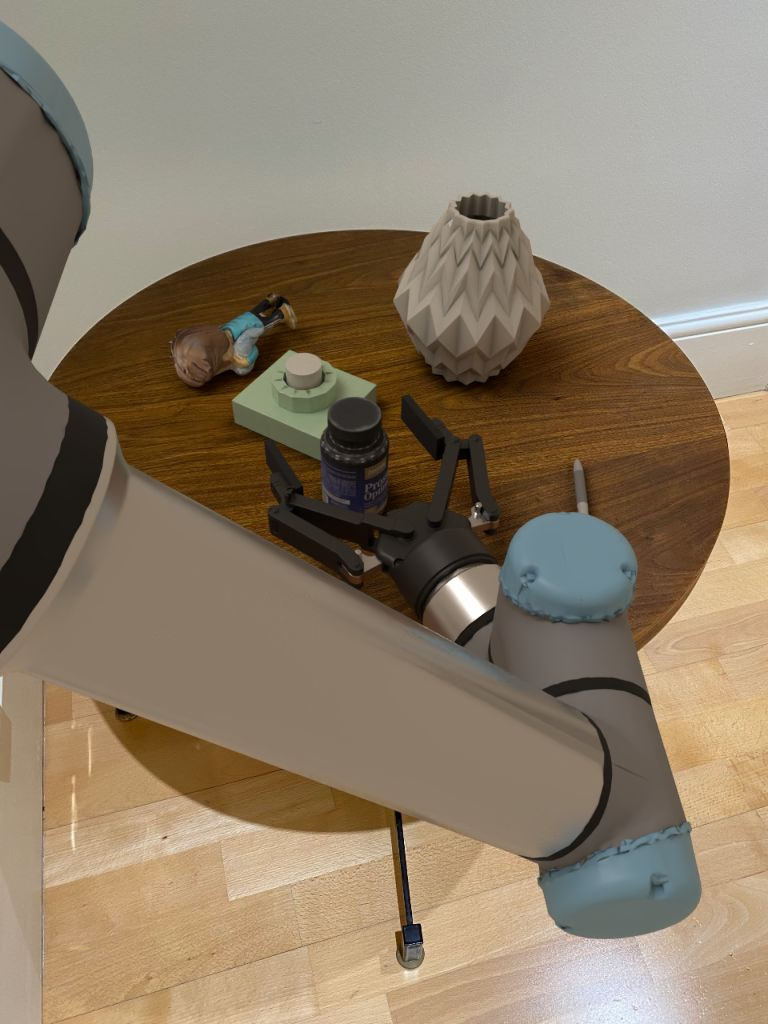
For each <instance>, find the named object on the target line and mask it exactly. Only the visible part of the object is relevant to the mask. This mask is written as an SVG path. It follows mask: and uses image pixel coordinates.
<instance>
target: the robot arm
mask: <svg viewBox="0 0 768 1024" xmlns="http://www.w3.org/2000/svg"><path fill="white" fill-rule="evenodd" d="M92 150H93V149H92V145H91V142H90V138H89V133H88V130H87V127H86V123H85V122H84V119H83V117H82V114H81V111H80V109H79V108H78V106H77V104H76V101H75V99H74V98H73V96H72V94H71V92H70V91H69V89H68V88H67V87H66V85H65V83H64V82H63V80H62V79H61V78H60V76H59V75H58V73H56V71H55V70H54V68H53V67H52V66H51V65H50V64H49V63H48V61H47V60H46V59H45V58H44V57H43V56H42V55H41V54H40V53H39V52H38V51H37V50H36V48H35V47H33V46H32V45H31V43H29V42H28V41H27V40H26V39H25V38H24V37H23V36H21V35H20V34H19V33H18V32H17V31H15V30H14V29H13V28H11V27H10V26H9V25H7V24H6V23H5V22H3V21H1V20H0V678H1V677H4V676H6V675H8V674H14V673H21V674H24V675H26V676H30V677H32V678H34V679H38V680H41V681H43V682H46V683H48V684H51V685H53V686H56V687H59V688H63V689H65V690H67V691H70V692H73V693H75V694H79V695H81V696H83V697H86V698H89V699H92V700H94V701H96V702H100V703H103V704H105V705H108V706H111V707H113V708H116V709H119V710H121V711H124V712H127V713H130V714H132V715H135V716H138V717H141V718H143V719H146V720H149V721H152V722H154V723H157V724H159V725H163V726H165V727H168V728H171V729H173V730H175V731H179V732H181V733H184V734H187V735H190V736H193V737H195V738H197V739H201V740H203V741H205V742H208V743H211V744H214V745H216V746H219V747H222V748H225V749H227V750H230V751H233V752H236V753H237V754H241V755H243V756H246V757H249V758H252V759H255V760H257V761H260V762H263V763H266V764H268V765H271V766H274V767H276V768H279V769H282V770H284V771H287V772H290V773H293V774H295V775H298V776H300V777H304V778H306V779H308V780H312V781H315V782H318V783H320V784H323V785H325V786H327V787H331V788H333V789H336V790H338V791H342V792H344V793H347V794H349V795H352V796H355V797H358V798H360V799H363V800H366V801H369V802H371V803H374V804H377V805H380V806H382V807H385V808H388V809H391V810H393V811H395V812H398V813H400V814H404V815H407V816H410V817H412V818H415V819H418V820H420V821H423V822H425V823H427V824H431V825H434V826H437V827H439V828H442V829H444V830H448V831H450V832H453V833H455V834H458V835H461V836H463V837H467V838H469V839H473V840H474V841H477V842H479V843H482V844H486V845H488V846H490V847H493V848H495V849H498V850H500V851H501V850H502V851H504V852H507V853H510V854H512V855H515V856H518V857H520V858H522V859H524V860H527V861H529V862H531V863H535V864H537V866H538V874H539V875H538V877H536V881H537V882H536V883H537V886H538V887H539V888H540V889H541V891H542V895H543V898H544V902H545V906H546V910H547V914H548V916H549V917H550V918H551V920H553V921H554V925H555V926H556V927H557V928H558V929H560V930H561V931H563V932H565V933H567V934H569V935H571V936H575V937H579V938H585V939H592V940H617V939H626V938H634V937H635V938H636V937H640V936H645V935H648V934H652V933H656V932H659V931H663V930H665V929H668V928H671V927H673V926H675V925H677V924H680V923H681V922H683V921H684V920H686V919H687V918H689V917H690V916H691V915H692V913H693V912H694V911H696V909H697V907H698V905H699V904H700V901H701V898H702V891H703V890H702V889H703V888H702V880H701V876H700V872H699V868H698V863H697V859H696V855H695V850H694V846H693V841H692V836H691V833H692V831H693V827H692V825H691V822H690V821H687V817H686V814H685V810H684V807H683V804H682V801H681V798H680V793H679V790H678V787H677V784H676V781H675V777H674V775H673V770H672V767H671V764H670V761H669V757H668V753H667V752H666V748H665V745H664V741H663V738H662V735H661V731H660V727H659V725H658V722H657V718H656V714H655V712H654V708H653V704H652V699H651V696H650V692H649V689H648V685H647V682H646V679H645V675H644V674H645V673H644V671H643V667H642V665H641V661H640V660H641V659H640V656H639V654H638V650H637V646H636V643H635V640H634V636H633V632H632V629H631V625H630V622H629V617H628V610H629V609H630V606H631V604H632V603H633V601H635V600H634V599H635V597H636V596H635V593H636V582H637V578H638V577H637V576H638V573H639V572H638V571H639V567H638V566H639V565H638V560H637V556H636V552H635V551H634V548H633V546H632V545H631V543H630V542H629V540H628V539H627V538H626V537H625V536H624V535H623V533H621V531H619V530H618V529H617V528H616V527H614V526H613V525H611V524H610V523H608V522H606V521H604V520H602V519H600V518H599V517H596V516H593V515H590V514H589V513H588V514H589V515H588V514H583V513H578V511H576V512H575V511H571V512H566V511H561V512H555V511H554V512H548V513H543V514H541V515H538V516H536V517H533V518H531V519H530V520H527V522H525V523H524V524H523V525H522V526H520V528H519V529H518V530H517V531H516V532H515V534H514V535H513V536H512V538H511V541H510V543H509V546H508V548H507V552H506V555H505V558H504V562H503V564H502V565H500V563H499V561H498V559H497V558H496V557H495V556H494V554H493V553H492V551H491V550H490V549H489V548H488V547H487V545H486V544H485V543H484V542H483V541H482V539H481V538H480V536H479V535H478V534H477V533H481V532H483V533H484V534H485V535H487V536H495V535H496V534H497V533H498V529H499V523H500V519H501V518H500V517H501V512H502V510H501V507H500V506H499V505H498V503H497V502H496V500H495V498H494V497H493V496H492V492H491V487H490V480H489V473H488V466H487V460H486V454H485V453H486V452H485V447H484V440H483V437H482V436H481V435H480V434H479V433H478V434H477V433H473V434H470V435H469V436H468V438H460V437H459V436H457V435H454V434H453V433H452V432H451V430H450V429H449V428H448V427H447V426H446V424H445V423H444V422H443V421H442V420H441V419H439V418H437V417H434V418H430V417H429V416H428V414H427V413H425V411H424V410H423V409H422V408H421V406H420V405H419V404H418V403H417V402H416V401H415V399H414V398H413V397H412V396H411V395H410V393H408V394H405V395H402V396H401V400H400V401H401V402H400V403H401V404H400V405H401V406H400V420H401V421H402V422H403V423H404V424H405V425H404V426H406V427H407V428H408V430H409V431H410V432H411V434H412V435H413V436H414V437H415V438H416V439H417V441H418V442H419V443H420V444H421V446H423V448H424V449H425V451H426V452H427V453H428V454H429V456H430V457H431V458H432V459H433V460H434V462H438V461H440V460H441V464H440V468H439V471H438V476H437V479H436V482H435V483H436V484H435V486H434V489H433V493H432V497H431V501H430V502H427V501H425V502H423V501H422V502H421V499H420V500H416V501H414V502H410V503H409V504H408V505H407V506H405V507H402V508H395V509H392V510H390V511H386V513H385V515H382V514H381V515H378V514H375V513H372V512H367V513H366V514H361V513H358V512H355V511H352V510H348V509H345V508H342V507H339V506H335V505H332V504H329V503H326V502H323V500H319V499H316V498H313V497H309V496H306V495H305V494H304V485H303V483H302V482H301V481H300V479H299V478H298V476H297V475H296V474H295V472H294V469H293V468H292V466H291V465H290V464H289V462H288V460H287V459H286V458H285V456H284V455H283V453H282V452H281V450H280V449H279V447H278V446H277V444H276V441H275V440H273V439H270V438H269V439H266V440H264V441H263V444H264V454H265V461H266V462H265V463H266V465H267V467H268V469H269V470H270V472H271V474H269V485H270V492H271V493H272V495H273V497H274V498H275V500H276V502H277V503H278V504H273V505H270V506H269V507H268V508H267V510H266V511H267V520H268V528H269V533H270V534H271V536H273V537H275V538H276V539H279V540H280V541H282V542H283V543H286V545H289V546H291V547H292V548H294V549H296V550H298V551H299V552H301V553H302V554H304V555H306V556H307V557H310V559H313V560H314V561H316V562H318V563H320V564H322V566H325V567H326V568H329V569H330V570H332V571H334V572H335V573H336V574H338V575H339V576H340V577H341V578H342V580H343V581H342V580H341V579H339V578H337V577H335V576H333V575H332V574H329V573H328V572H326V571H324V570H323V569H321V568H319V567H317V566H316V565H314V564H311V563H309V562H308V561H306V560H304V559H302V558H301V557H299V556H297V555H295V554H293V553H291V552H289V551H287V550H286V549H284V548H282V547H280V546H278V545H276V544H275V543H273V542H271V541H270V540H267V539H265V538H264V537H263V536H260V535H258V534H257V533H255V532H253V531H251V530H249V529H247V528H246V527H244V526H242V525H241V524H238V523H237V522H235V521H233V520H231V519H229V518H227V517H225V516H224V515H222V514H220V513H218V512H216V511H214V510H213V509H211V508H209V507H207V506H206V505H204V504H202V503H200V502H198V501H196V500H194V499H193V498H191V497H189V496H187V495H185V494H183V493H182V492H179V491H178V490H176V489H174V488H172V487H170V486H169V485H167V484H166V483H163V482H162V481H160V480H158V479H156V478H155V477H153V476H150V475H149V474H147V473H145V472H143V471H141V470H140V469H138V468H136V467H134V466H132V465H130V464H129V463H128V462H127V460H126V459H125V457H124V456H123V451H122V448H121V445H120V441H119V438H118V434H117V433H118V432H117V429H116V426H115V423H114V422H113V421H112V420H111V419H110V418H108V417H107V416H105V415H104V414H102V413H101V412H98V411H97V410H95V409H93V408H91V407H90V406H88V405H86V404H84V403H83V402H81V401H79V400H77V399H75V398H73V397H72V396H70V395H69V394H67V393H64V392H63V391H62V390H59V388H57V387H56V386H55V385H53V384H52V383H51V382H50V381H48V379H47V378H46V377H45V376H44V375H43V374H42V373H41V371H39V370H38V369H37V367H36V366H35V365H34V363H33V362H32V361H33V359H34V358H33V357H34V355H35V353H36V350H37V347H38V344H39V341H40V338H41V335H42V333H43V331H44V330H43V329H44V327H45V324H46V322H47V319H48V315H49V313H50V310H51V308H52V304H53V301H54V299H55V296H56V294H57V290H58V288H59V285H60V281H61V278H62V276H63V273H64V270H65V269H66V268H65V267H66V264H67V262H68V259H69V257H70V254H71V252H72V250H73V249H74V248H75V247H76V246H77V245H78V243H79V241H80V238H81V237H82V235H83V234H84V232H85V231H86V230H87V226H88V222H89V219H90V216H91V211H92V210H91V208H92V206H91V205H92V204H91V194H92V191H93V190H92V189H93V184H94V183H93V182H94V159H93V152H92ZM459 461H466V468H467V476H468V483H469V490H470V498H471V505H472V507H471V508H470V513H469V517H468V516H466V515H465V514H462V513H458V512H456V511H453V510H451V509H449V505H450V500H451V497H452V492H453V488H454V483H455V480H456V475H457V471H458V468H459V463H460V462H459ZM375 531H376V532H377V531H378V534H377V537H376V536H375ZM342 540H344V541H346V542H349V543H352V544H356V545H358V546H359V549H358V548H357V549H355V550H354V549H353V548H352V547H351V546H349V545H348V544H347V543H345V542H344V541H342ZM362 551H365V552H369V553H372V554H373V555H366V554H365V553H363V552H362ZM380 572H381V573H384V574H385V575H387V576H388V577H390V578H391V580H392V581H393V583H394V584H395V587H396V588H397V590H398V592H399V593H400V594H401V596H402V597H403V599H404V600H405V602H406V603H407V605H408V606H409V607H410V609H411V610H412V612H413V613H414V615H415V616H416V618H417V619H418V620H419V621H421V622H422V624H421V623H419V622H417V621H415V620H414V619H412V618H410V617H408V616H407V615H405V614H403V613H401V612H399V611H397V610H395V609H393V608H392V607H390V606H388V605H387V604H385V603H382V602H381V601H380V600H377V599H376V598H374V597H372V596H370V595H368V594H366V593H365V592H363V591H361V589H363V588H364V586H365V580H366V579H368V578H370V577H372V576H374V575H375V574H378V573H380Z"/></svg>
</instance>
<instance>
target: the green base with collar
mask: <svg viewBox="0 0 768 1024" xmlns="http://www.w3.org/2000/svg"><path fill="white" fill-rule="evenodd" d="M295 354H298V352H296V351H293V350H291V349H288V350H287V351H286V352H285V353H284V354H283V355H281V356H280V357H279V358H278V359H277V360H276V361H275V362H274V363H272V364H271V365H270V366H269V367H268V368H267V369H266V370H265V371H264V372H262V373H261V374H260V375H259V376H258V377H257V378H256V379H254V380H253V381H252V382H251V383H250V384H248V385H247V386H246V387H245V388H244V389H243V390H242V391H240V392H239V393H238V394H237V395H236V396H235V397H234V398H233V399H231V404H232V405H231V406H232V411H233V419H234V420H233V421H234V423H235V424H237V425H239V426H241V427H243V428H246V429H248V430H250V431H253V432H255V433H257V434H258V435H261V436H264V437H266V438H268V439H269V440H270V439H273V441H274V442H277V443H280V444H282V445H283V446H287V447H288V448H290V449H293V450H295V451H298V452H299V453H302V454H304V455H307V456H308V457H311V458H313V459H315V460H317V461H320V462H321V452H320V439H321V435H322V433H323V431H324V430H325V428H326V427H327V426H328V424H327V414H328V410H329V408H330V406H331V405H332V404H334V403H335V402H336V401H338V400H340V399H343V398H347V397H362V398H366V399H369V400H371V401H373V402H375V403H376V404H377V397H378V396H377V395H378V394H377V389H378V385H377V383H374V382H372V381H368V380H366V379H363V378H361V377H358V376H356V375H353V374H351V373H348V372H346V371H343V370H341V369H339V368H336V367H333V366H332V364H331V363H330V362H328V361H327V360H323V359H321V358H320V360H321V362H322V383H321V385H320V386H319V387H316V388H313V389H310V390H296V389H293V388H291V387H289V386H288V384H287V381H286V369H285V363H286V360H287V359H288V358H289V357H291V356H292V355H295Z"/></svg>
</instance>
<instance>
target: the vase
mask: <svg viewBox="0 0 768 1024" xmlns="http://www.w3.org/2000/svg"><path fill="white" fill-rule="evenodd" d="M515 215H516V213H515V210H514V209H513V208H512V203H511V201H506V200H504V199H503V198H502V196H501V195H494V196H492V195H491V194H490V193H489V192H488V191H486V192H482V193H480V194H479V193H478V192H474V191H470V192H469V193H468V194H467V195H465V194H457V197H456V199H452V200H450V201H449V202H448V206H447V208H446V209H445V210H444V212H443V214H442V215H441V216H440V217H439V219H438V221H437V222H436V223H435V224H433V225H432V227H431V229H430V231H429V233H428V234H427V235H426V236H425V237H424V239H423V242H422V243H421V246H420V248H419V250H418V252H416V254H415V255H414V257H413V258H412V259H411V261H410V262H409V263H408V265H407V266H406V268H405V269H404V271H402V273H401V275H400V276H399V277H398V279H397V285H398V288H397V289H396V292H395V295H394V297H393V305H394V306H395V309H396V311H397V313H398V314H399V317H400V319H401V320H402V322H403V325H404V327H405V330H406V332H407V335H408V336H409V338H410V340H411V342H412V345H414V347H415V349H416V351H417V353H418V355H419V356H421V357H423V358H424V362H425V363H426V364H428V365H429V366H430V367H431V373H432V374H433V375H440V376H443V378H444V379H445V381H446V382H448V383H449V382H456V381H457V382H460V383H462V384H463V385H465V386H467V385H469V384H472V383H473V382H478V383H486V382H487V380H488V379H489V378H490V377H493V376H494V377H495V376H498V375H499V374H500V371H501V370H504V369H505V368H506V367H507V366H509V364H510V363H512V361H514V360H515V359H516V358H517V357H518V356H519V355H520V354H521V353H522V352H523V350H524V349H525V347H526V346H527V344H528V342H529V341H530V340H531V338H532V336H533V335H534V334H535V333H536V332H537V331H538V330H539V329H541V328H542V320H543V319H544V317H545V315H546V314H547V312H548V311H549V309H550V307H551V301H550V298H549V294H548V291H547V289H546V286H545V283H544V279H543V276H542V273H541V271H540V270H539V268H538V267H537V266H536V265H535V261H534V256H533V251H532V250H533V249H532V246H531V241H530V238H529V237H528V236H527V235H526V234H525V232H524V230H522V228H521V222H520V219H519V218H517V217H516V216H515Z"/></svg>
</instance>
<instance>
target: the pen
mask: <svg viewBox="0 0 768 1024" xmlns="http://www.w3.org/2000/svg"><path fill="white" fill-rule="evenodd" d="M585 478H586V477H585V471H584V468H583V464H582V462H581V461H580V459H579V458H575V460H574V462H573V482H574V491H575V501H576V508H577V513H583V514H588V515H590V514H589V505H588V504H589V503H588V496H587V487H586V479H585Z"/></svg>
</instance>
